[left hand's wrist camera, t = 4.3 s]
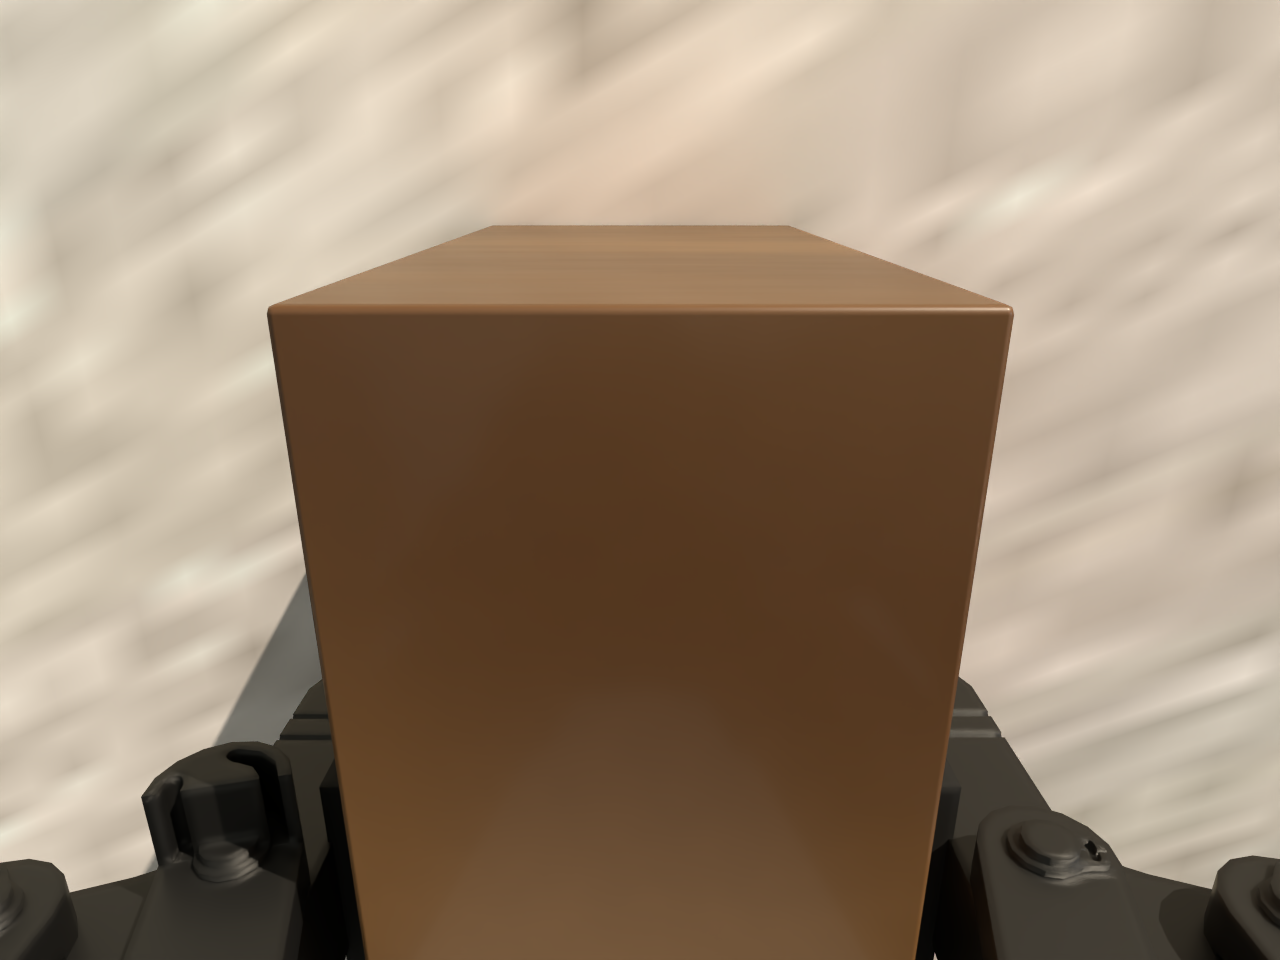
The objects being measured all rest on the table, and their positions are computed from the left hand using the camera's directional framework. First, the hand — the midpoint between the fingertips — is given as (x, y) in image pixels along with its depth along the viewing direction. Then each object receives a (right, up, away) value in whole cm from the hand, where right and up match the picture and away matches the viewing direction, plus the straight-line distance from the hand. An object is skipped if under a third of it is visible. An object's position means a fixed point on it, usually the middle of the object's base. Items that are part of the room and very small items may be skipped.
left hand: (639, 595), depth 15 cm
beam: (0, -30, +12) cm, 32 cm away
